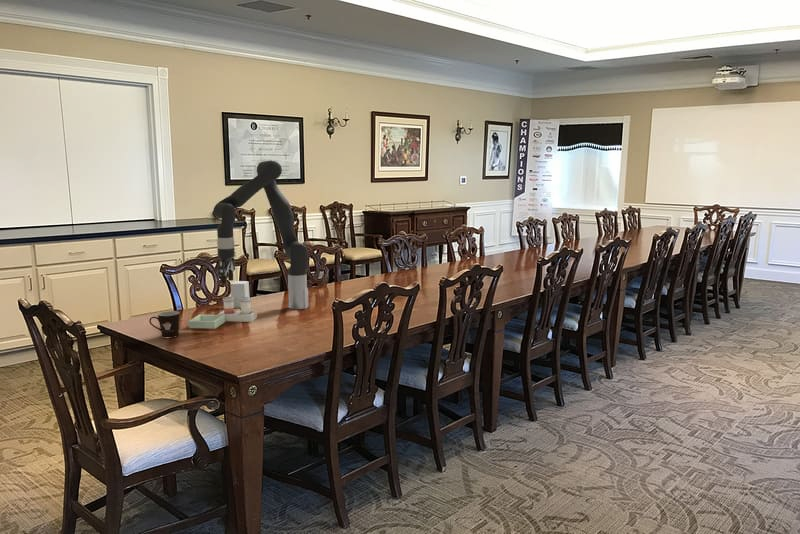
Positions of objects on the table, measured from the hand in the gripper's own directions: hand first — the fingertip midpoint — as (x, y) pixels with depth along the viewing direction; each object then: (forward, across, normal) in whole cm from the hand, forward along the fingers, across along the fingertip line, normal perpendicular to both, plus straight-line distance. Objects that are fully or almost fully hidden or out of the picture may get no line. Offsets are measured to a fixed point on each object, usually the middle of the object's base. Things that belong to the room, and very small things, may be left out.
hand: (227, 282), depth 285 cm
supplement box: (+19, +29, +5) cm, 35 cm away
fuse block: (+18, 0, -4) cm, 19 cm away
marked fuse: (+17, 0, 0) cm, 17 cm away
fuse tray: (+18, -11, +6) cm, 22 cm away
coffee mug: (+19, -27, +17) cm, 37 cm away
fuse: (+17, 0, -8) cm, 19 cm away
